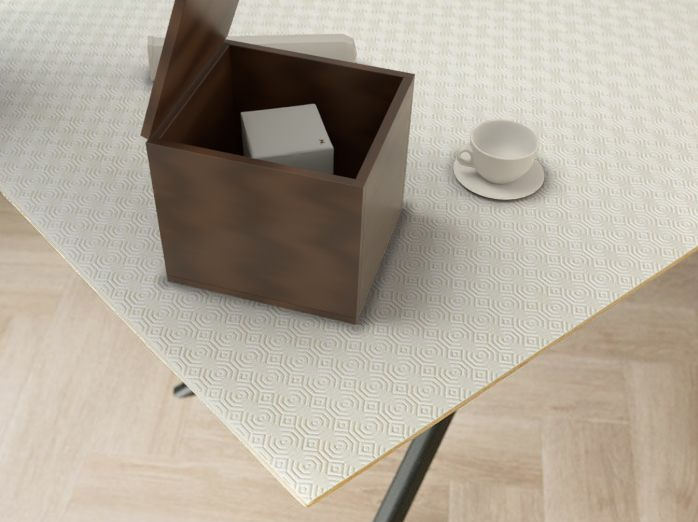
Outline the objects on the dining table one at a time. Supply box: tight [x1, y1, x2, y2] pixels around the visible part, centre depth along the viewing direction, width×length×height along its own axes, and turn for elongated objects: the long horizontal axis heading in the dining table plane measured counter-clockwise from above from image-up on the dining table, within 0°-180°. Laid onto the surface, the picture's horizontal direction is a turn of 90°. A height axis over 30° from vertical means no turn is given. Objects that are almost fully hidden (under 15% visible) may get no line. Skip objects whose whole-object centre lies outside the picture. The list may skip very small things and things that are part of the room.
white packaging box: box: [241, 104, 334, 175], centre depth 86 cm, size 7×7×13 cm
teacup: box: [452, 118, 545, 201], centre depth 98 cm, size 10×10×5 cm
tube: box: [146, 33, 358, 82], centre depth 110 cm, size 5×5×25 cm
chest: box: [145, 39, 416, 326], centre depth 86 cm, size 19×18×16 cm
